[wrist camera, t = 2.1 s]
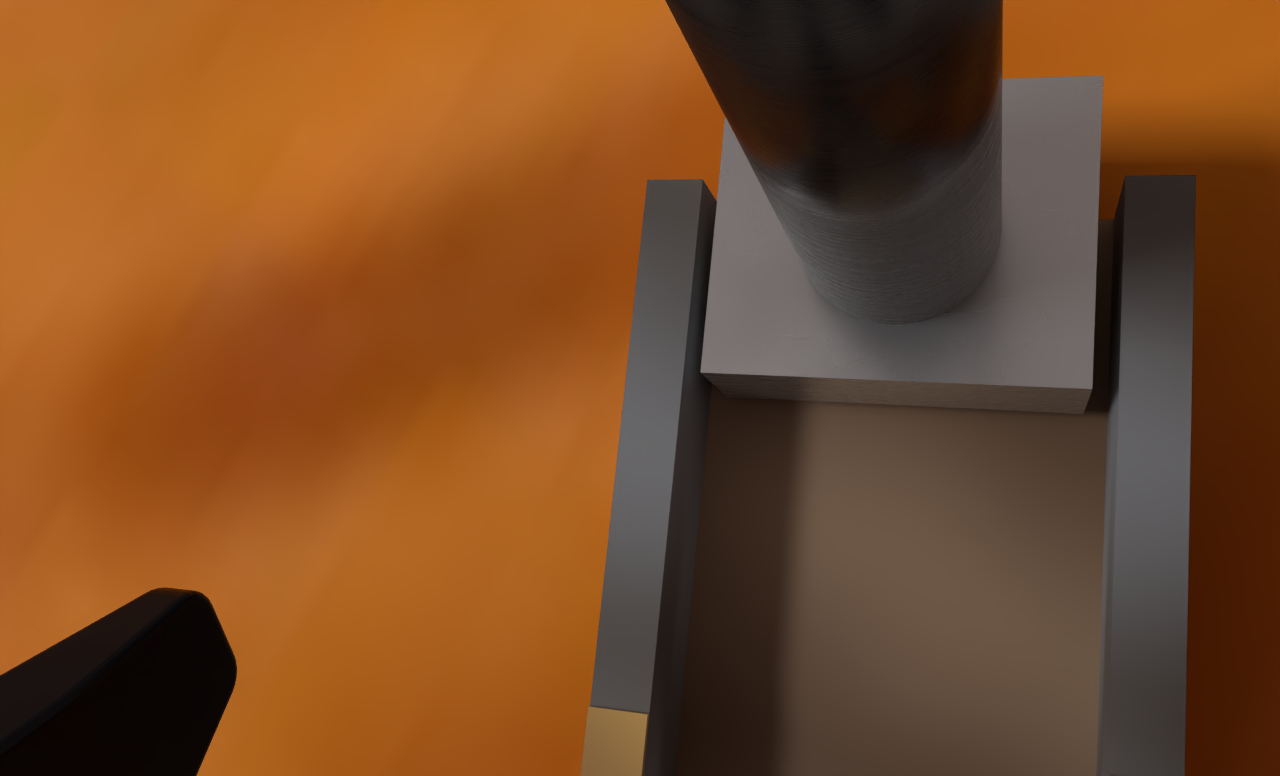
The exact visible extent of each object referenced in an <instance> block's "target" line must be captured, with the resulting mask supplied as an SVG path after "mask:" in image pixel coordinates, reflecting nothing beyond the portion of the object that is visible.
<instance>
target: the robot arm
mask: <svg viewBox="0 0 1280 776" xmlns="http://www.w3.org/2000/svg"><path fill="white" fill-rule="evenodd" d="M236 676H237V665H236V659H235V656H234V654H233V651H232V649H231V647H230V645H229V642H228V640H227V638H226V635H225V633H224V631H223V629H222V626H221V624H220V622H219V619H218V617H217V615H216V613H215V610H214V608H213V606H212V604H211V602H210V600H209V599H208V598H207V597H206V596H205V595H204V594H202V593H200V592H197V591H192V590H183V589H174V588H157V589H154V590H151V591H149V592H147V593H145V594H143V595H142V596H140V597H138V598H136V599H135V600H133V601H131V602H129V603H128V604H126V605H124V606H122V607H120V608H119V609H117V610H115V611H113V612H112V613H110V614H108V615H106V616H105V617H103V618H101V619H99V620H98V621H96V622H94V623H92V624H90V625H89V626H87V627H85V628H83V629H82V630H80V631H78V632H76V633H75V634H73V635H71V636H69V637H67V638H66V639H64V640H62V641H60V642H59V643H57V644H55V645H53V646H52V647H50V648H48V649H46V650H45V651H43V652H41V653H39V654H37V655H36V656H34V657H32V658H30V659H29V660H27V661H25V662H23V663H22V664H20V665H18V666H16V667H14V668H13V669H11V670H9V671H7V672H6V673H4V674H2V675H0V776H196V775H197V773H198V771H199V768H200V766H201V764H202V761H203V759H204V757H205V754H206V752H207V750H208V747H209V745H210V743H211V740H212V738H213V736H214V734H215V731H216V729H217V727H218V724H219V722H220V720H221V717H222V715H223V713H224V710H225V708H226V706H227V703H228V701H229V699H230V696H231V694H232V692H233V689H234V686H235V681H236Z"/></svg>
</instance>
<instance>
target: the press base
mask: <svg viewBox="0 0 1280 776" xmlns="http://www.w3.org/2000/svg"><path fill="white" fill-rule="evenodd" d="M1195 185H1196V175H1169V176H1125V179H1124V183H1123V187H1122V191H1121V195H1120V198H1119V202H1118V206H1117V210H1116V213H1115V217H1114V220H1098V240H1097V269H1096V298H1095V327H1094V356H1093V386H1092V392H1091V394H1090V397H1089V400H1088V403H1087V406H1086V408H1085V411H1084V414H1070V413H1050V412H1029V411H1008V410H988V409H967V408H946V407H925V406H905V405H884V404H863V403H843V402H822V401H801V400H781V399H760V398H739V397H726V396H725V395H724V394H723V393H722V392H721V391H720V390H719V389H718V388H717V387H716V386H715V385H713V384H712V383H711V382H710V381H709V380H708V379H707V378H706V377H705V376H704V375H703V374H702V373H700V372H701V361H702V351H703V341H704V330H705V320H706V310H707V299H708V289H709V279H710V269H711V258H712V248H713V238H714V227H715V217H716V207H717V201H716V200H715V198H714V197H713V195H712V193H711V192H710V190H709V189H708V187H707V186H706V184H705V182H704V181H703V179H699V180H647V189H646V198H645V208H644V217H643V226H642V235H641V244H640V254H639V263H638V272H637V281H636V290H635V299H634V309H633V318H632V327H631V336H630V345H629V355H628V364H627V373H626V382H625V391H624V400H623V410H622V419H621V428H620V437H619V446H618V456H617V465H616V474H615V483H614V492H613V502H612V511H611V520H610V529H609V538H608V547H607V557H606V566H605V575H604V584H603V593H602V603H601V612H600V621H599V630H598V639H597V649H596V658H595V667H594V676H593V685H592V694H591V704H590V706H588V713H587V722H586V731H585V740H584V750H583V759H582V768H581V776H1185V727H1186V673H1187V619H1188V565H1189V510H1190V456H1191V402H1192V347H1193V293H1194V239H1195Z"/></svg>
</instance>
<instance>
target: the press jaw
mask: <svg viewBox="0 0 1280 776" xmlns="http://www.w3.org/2000/svg"><path fill="white" fill-rule="evenodd" d="M666 2H667V4H668V6H669V8H670V10H671V12H672V14H673V16H674V18H675V20H676V22H677V24H678V26H679V28H680V29H681V31H682V33H683V35H684V37H685V39H686V41H687V43H688V45H689V47H690V49H691V51H692V53H693V55H694V57H695V59H696V60H697V62H698V64H699V66H700V68H701V70H702V72H703V74H704V76H705V78H706V80H707V82H708V84H709V86H710V88H711V90H712V91H713V93H714V95H715V97H716V99H717V101H718V103H719V105H720V107H721V109H722V111H723V113H724V115H725V124H724V135H723V145H722V155H721V165H720V176H719V186H718V196H717V207H716V217H715V227H714V238H713V248H712V258H711V269H710V279H709V289H708V299H707V310H706V320H705V330H704V341H703V351H702V361H701V372H700V373H702V374H703V375H704V376H705V377H706V378H707V379H708V380H709V381H710V382H711V383H712V384H713V385H715V386H716V387H717V388H718V389H719V390H720V391H721V392H722V393H723V394H724V395H725V396H726V397H739V398H760V399H781V400H801V401H822V402H843V403H863V404H884V405H905V406H925V407H946V408H967V409H988V410H1008V411H1029V412H1050V413H1070V414H1084V411H1085V408H1086V406H1087V403H1088V400H1089V397H1090V394H1091V392H1092V386H1093V356H1094V327H1095V298H1096V269H1097V240H1098V211H1099V181H1100V152H1101V123H1102V94H1103V76H1078V77H1047V78H1016V79H1002V22H1003V0H666Z"/></svg>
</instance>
